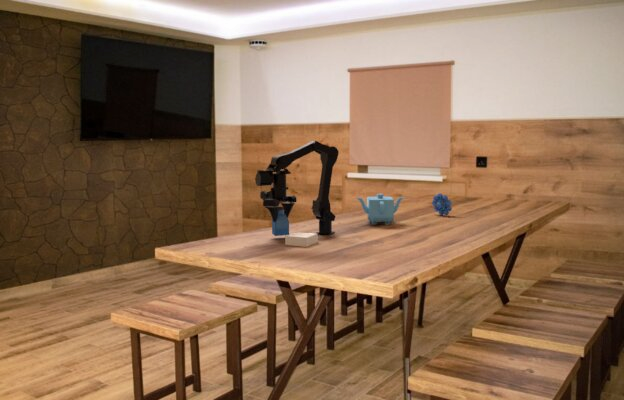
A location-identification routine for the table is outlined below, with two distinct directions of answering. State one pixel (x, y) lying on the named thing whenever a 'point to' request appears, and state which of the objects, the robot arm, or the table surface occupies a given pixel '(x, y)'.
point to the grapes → (441, 204)
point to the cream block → (301, 239)
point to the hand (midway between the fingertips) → (280, 220)
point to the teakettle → (380, 208)
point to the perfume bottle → (280, 224)
